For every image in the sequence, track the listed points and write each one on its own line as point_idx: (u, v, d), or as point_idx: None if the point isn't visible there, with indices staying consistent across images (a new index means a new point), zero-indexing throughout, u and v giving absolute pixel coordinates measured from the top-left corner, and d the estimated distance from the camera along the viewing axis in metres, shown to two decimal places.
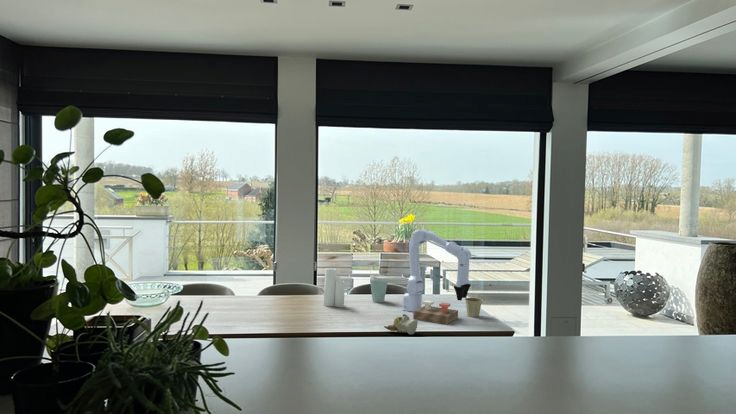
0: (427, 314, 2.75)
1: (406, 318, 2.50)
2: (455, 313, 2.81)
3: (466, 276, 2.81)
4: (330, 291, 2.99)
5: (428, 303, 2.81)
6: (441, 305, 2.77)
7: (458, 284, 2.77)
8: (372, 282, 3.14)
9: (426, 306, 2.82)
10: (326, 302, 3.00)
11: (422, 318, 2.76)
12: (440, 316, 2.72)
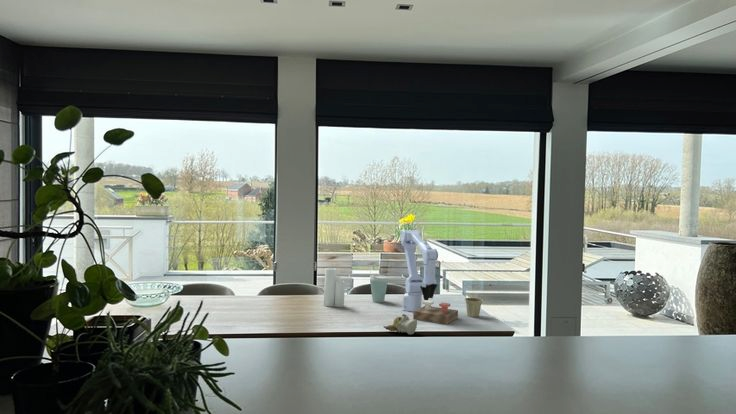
0: (427, 314, 2.75)
1: (406, 318, 2.50)
2: (455, 313, 2.81)
3: (432, 276, 2.80)
4: (330, 291, 2.99)
5: (428, 303, 2.81)
6: (441, 305, 2.77)
7: (424, 284, 2.76)
8: (372, 282, 3.14)
9: (426, 306, 2.82)
10: (326, 302, 3.00)
11: (422, 318, 2.76)
12: (440, 316, 2.72)
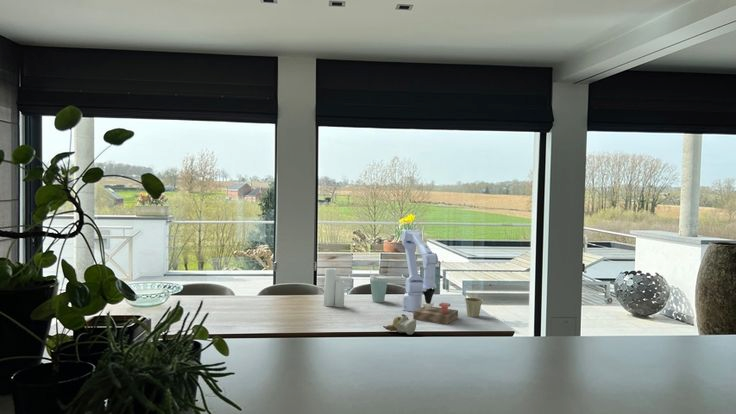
0: (427, 314, 2.75)
1: (405, 318, 2.50)
2: (455, 313, 2.81)
3: (432, 280, 2.80)
4: (330, 291, 2.99)
5: (428, 305, 2.81)
6: (441, 305, 2.77)
7: (423, 288, 2.76)
8: (372, 282, 3.14)
9: (426, 308, 2.82)
10: (326, 302, 3.00)
11: (422, 318, 2.76)
12: (440, 316, 2.72)
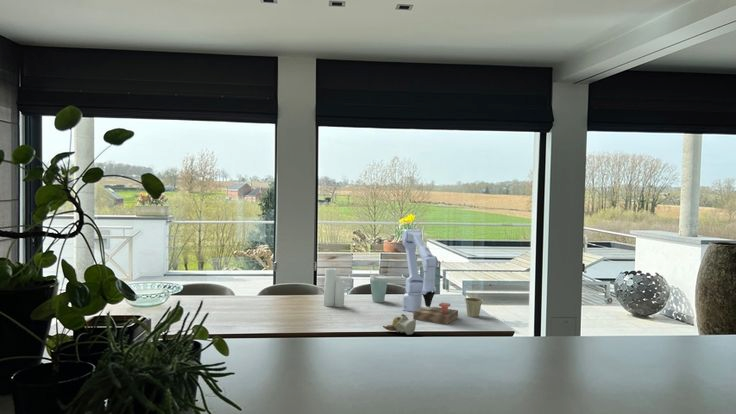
0: (427, 314, 2.75)
1: (404, 318, 2.50)
2: (455, 313, 2.81)
3: (432, 283, 2.80)
4: (330, 291, 2.99)
5: (428, 308, 2.81)
6: (441, 305, 2.77)
7: (423, 291, 2.76)
8: (372, 282, 3.14)
9: None
10: (326, 302, 3.00)
11: (422, 318, 2.76)
12: (440, 316, 2.72)
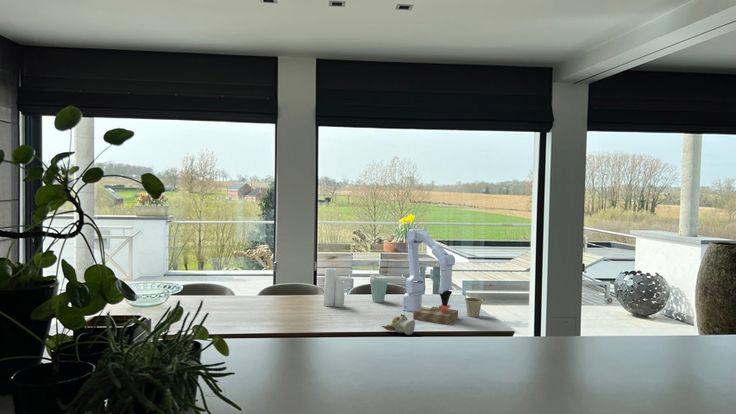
0: (427, 314, 2.75)
1: (404, 318, 2.50)
2: (455, 313, 2.81)
3: (449, 282, 2.76)
4: (330, 291, 2.99)
5: (428, 308, 2.81)
6: (441, 307, 2.77)
7: (440, 290, 2.72)
8: (372, 282, 3.14)
9: None
10: (326, 302, 3.00)
11: (422, 318, 2.76)
12: (440, 316, 2.72)
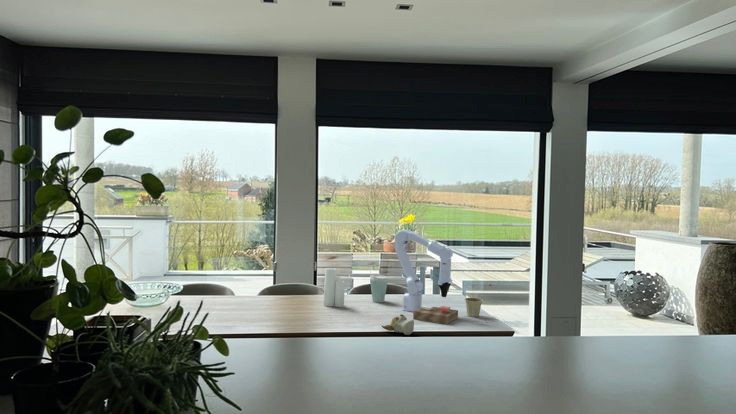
0: (427, 314, 2.75)
1: (403, 318, 2.50)
2: (455, 313, 2.81)
3: (448, 274, 2.88)
4: (330, 291, 2.99)
5: (428, 308, 2.81)
6: (441, 309, 2.78)
7: (439, 282, 2.84)
8: (372, 282, 3.14)
9: None
10: (326, 302, 3.00)
11: (422, 318, 2.76)
12: (440, 316, 2.72)
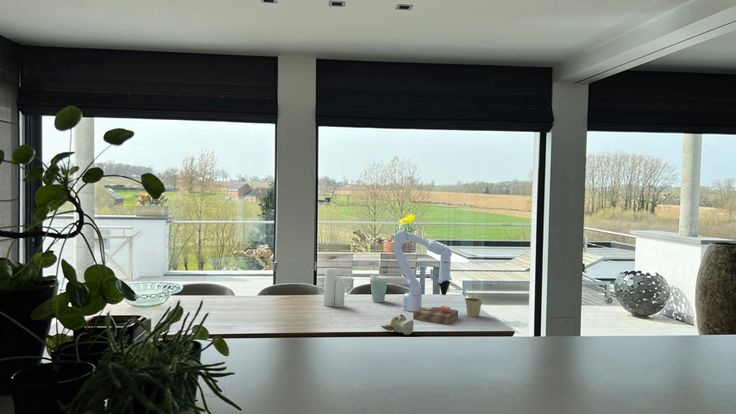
0: (427, 314, 2.75)
1: (402, 318, 2.50)
2: (455, 313, 2.81)
3: (447, 273, 2.93)
4: (330, 291, 2.99)
5: (428, 308, 2.81)
6: (441, 309, 2.78)
7: (440, 280, 2.89)
8: (372, 282, 3.14)
9: None
10: (326, 302, 3.00)
11: (422, 318, 2.76)
12: (440, 316, 2.72)
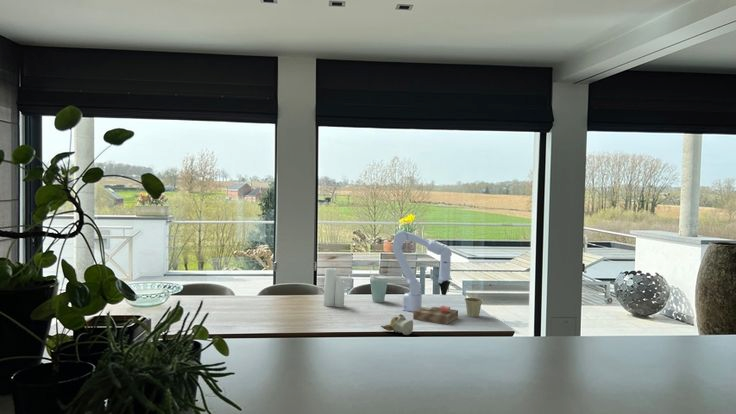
0: (427, 314, 2.75)
1: (402, 318, 2.50)
2: (455, 313, 2.81)
3: (447, 273, 2.93)
4: (330, 291, 2.99)
5: (428, 308, 2.81)
6: (441, 309, 2.78)
7: (440, 280, 2.89)
8: (372, 282, 3.14)
9: None
10: (326, 302, 3.00)
11: (422, 318, 2.76)
12: (440, 316, 2.72)
